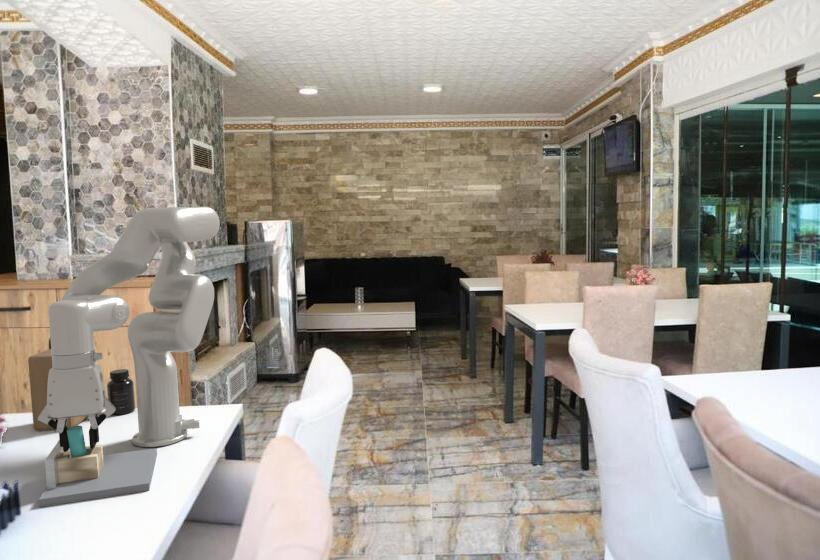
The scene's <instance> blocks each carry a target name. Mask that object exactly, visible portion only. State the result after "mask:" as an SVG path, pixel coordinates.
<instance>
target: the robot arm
mask: <svg viewBox="0 0 820 560" xmlns="http://www.w3.org/2000/svg"><path fill="white" fill-rule="evenodd" d="M220 224H221V222H220V218H219V215H218V213H217V212H216V211H215V209H213V208H211V207H209V206H183V207H181V206H179V207H178V206H174V207H170V206H169V207H149V208H148V207H147V208H142V209H139V210H138V211H137V212H135V213H134V214H133V216H132V217H131V219H130V220H129V222H128V223H127V225H126V226H125V228H124V230H123V232H122V234H121V236H120V237H119V239H118V240H117V242H116V243H115V245H114V246H113V248H112V249H111V251H110V252H109V253H108V254H106V255H104V256H102V258H100V259H98V260H97V261H95V262H94V263H93V264H91V265H90V266H88V267H87V268H85V269H84V270H82V271H81V272H80V273H79V274H78V275H77V276H76V277H75V278H74V279H73V281H72V282H71V283H70V284H69V287H68V288H67V289H66V291H65V292H64V294H63V295H62V297H61V300H59V301H54V302H52V303H51V304H50V305H49V306H48V309H47V310H48V325H49V336H50V337H49V338H50V349H51V353H52V366H53V368H51V369H50V370H49V375H48V385H47V405H46V406H45V408H44V409H43V411H42V412H41V414H40V415H39V417H38V420H39V421H41V422H43V423H45V424H48V425H49V426H50V427H52V428H53V429H55V430H54V431H56V433H57V434H58V436H59V437H58V438H59V440H60V447H63V452H67V451H68V450H69V449H70V447H69V442H68V436H67V429H68V428H67V426H66V424H67V418H69V417H78V416H87V415H88V416H87V418H88V421H89V424H90V426H89V427H90V428H89V430H88V439H89V440H88V441H89V446H90V448H91V449H92V448H94V447H95V445H97V444H98V443H99V442H100V433H99V427H100V425H101V424H102V423H103V422H104V421H105V420H106V419H107V418H109V417H110V416H112V415H111V414H113V413H114V412H115V410H116V408H115V406H114V405H113V404H112V403H111V402H110V401H109V400H108V397H106V388H105V382H104V376H103V372H102V368H101V367H102V366H100V363H96V362H97V361H99V360H103V352H97V351H96V349H95V347H94V344H95V343H94V333H95V332H100V331H102V332H103V331H104V332H105V331H114V330H116V329H119V328H121V327H122V326H123V325H125V324H126V322H127V321H128V319H129V317H130V308H129V304H128V303H127V302H126V301H125V300H124V299H123V298H121V297H119V296H118V295H117V296H116V295H111V294H108V295H107V294H103V293H105V291H107V290H108V289H110V288H112V287H114V286H116V285H118V284H122V283H124V282H127V281H130V280H132V279H135V278H136V277H139V276H142V274H144V273H146V272H147V270H148V268H149V266H150V265H151V263H152V261H153V260H154V257H155V255H156V254H157V252H158V250H159V248H161V253H162V255H161V259H160V263H159V264H158V268H157V271H156V274H155V276H154V278H153V281H152V284H151V286H150V290H149V293H148V301H149V304H150V305H151V307H152V308H153V309H156V310H157V311H147V312H142V313H139V314H138V315H136V316H134V317H133V318H132V319H131V320H130V321H129V324H128V326H127V338H128V343H129V345H130V350H131V352H132V357H133V358H132V359H133V364H134V365H133V366H134V376H135V378H134V379H135V391H136V405H137V406H136V407H137V408H136V409H137V420H138V421H137V423H138V432H137V433H135V434H134V435H133V436H132V438H131V440H132V444H133V445H134V446H137V447H141V448H155V447H156V448H157V447H164V446H168V445H172V444H175V443H178V442H180V441H182V440H184V439H185V438H186V437H187V436H188V429H189V430H190V429H192V430H194V429H200V420H195V418H191V419H185V418H184V419H183V417H182V414H181V413H180V397H179V379H178V366H177V363H176V360H175V358H174V356H173V355H172V353H188V352H192V351H195V350H196V349H197V347H198V346H199V345H200V343H201V341H202V339H203V336H204V333H205V330H206V327H207V324H208V321H209V318H210V315H211V312H212V308H213V305H214V301H215V287H214V285H213V282H212V280H211V279H210V278H209V277H208V276H206V275H205V274H204V275H203V274H199V273H195V270H196V266H197V259H196V256H195V254H194V252H193V251H192V249H191V247H190V246H189V244H188V243H191V242H192V243H194V242H201V241H207V240H211V239H212V238H214V237H216V235H218V232H219V229H220ZM102 294H103V295H102ZM104 408H105V410H104ZM98 414H99V415H98ZM57 419H58V420H57ZM59 440H58V441H59Z"/></svg>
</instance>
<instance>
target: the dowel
mask: <svg viewBox="0 0 820 560" xmlns="http://www.w3.org/2000/svg"><path fill="white" fill-rule="evenodd" d="M67 436H68V442H69V447H70V448H69V449H70V453H71V457H78V456H85V455H87V452H86V447H87V446H86V441H85V436H84V430H83V426H82V425H76V426H73V427H70V428H68V429H67Z"/></svg>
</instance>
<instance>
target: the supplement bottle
mask: <svg viewBox="0 0 820 560" xmlns="http://www.w3.org/2000/svg"><path fill="white" fill-rule="evenodd" d="M129 372H130V371H129V369H125V368H124V369H122V368H120V369H115V370H111V371H110V372H109V379H110V381H108V382H107V384H106V393H107V399H108V400H109V401H110V402H111V403H112V404H113V405H114V406H115V408H116V410H115V412H114V413H113V414H111V415H110V416H123V415H124V416H125V415H128V414H131V413H133V412H134V411H135V410H136V400H135V387H134V386H135V384H134V381H133V379H131V378H130V374H129Z"/></svg>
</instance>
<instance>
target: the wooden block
mask: <svg viewBox="0 0 820 560" xmlns="http://www.w3.org/2000/svg"><path fill="white" fill-rule="evenodd" d="M27 363H28V373H29V374H28V376H29V387H30V399H31V411H32V413H31V414H32V422H33V423H32V425H33V429H34V431H56V430H55V429H53V428H52V427H50V426H49V425H48V424H45V423H43V422H41V421H39V420H38V417H39V415H40V414H41V412H42V411H43V409H44V408H45V406H46V405H47V385H48V375H49V370H50V369H51V368H53V366H52V353H51V348H48V349H46V350H43V351H41V352H40V351H39V352H38V353H35V354H33V355H30V356H29V357H28V360H27ZM87 418H88V415H87V416H78V417H69V418H67V424H66V426H67V428H70V427H73V426H79V425H80V424H81V423H82V422H84V421H85V420H86V419H87ZM57 420H58V419H57Z"/></svg>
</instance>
